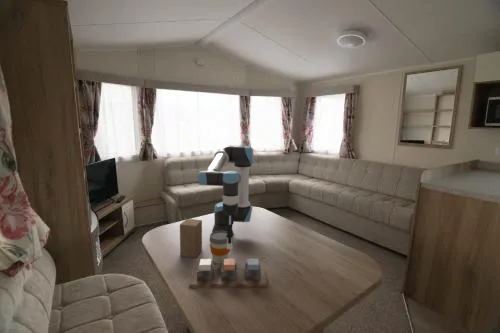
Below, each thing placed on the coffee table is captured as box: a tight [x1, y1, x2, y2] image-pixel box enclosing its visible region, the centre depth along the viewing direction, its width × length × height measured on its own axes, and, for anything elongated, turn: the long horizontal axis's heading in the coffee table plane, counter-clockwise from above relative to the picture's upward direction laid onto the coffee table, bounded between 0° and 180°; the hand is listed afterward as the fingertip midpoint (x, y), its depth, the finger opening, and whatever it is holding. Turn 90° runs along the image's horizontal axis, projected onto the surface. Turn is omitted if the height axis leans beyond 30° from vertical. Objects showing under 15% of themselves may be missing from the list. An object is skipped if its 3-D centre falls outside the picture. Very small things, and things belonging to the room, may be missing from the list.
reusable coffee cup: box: [209, 231, 231, 264], centre depth 146 cm, size 13×13×15 cm
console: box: [189, 262, 268, 288], centre depth 128 cm, size 38×13×6 cm, turn 94°
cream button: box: [198, 258, 213, 271], centre depth 127 cm, size 6×6×5 cm
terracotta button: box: [224, 258, 236, 271], centre depth 128 cm, size 6×6×5 cm
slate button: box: [246, 258, 260, 270], centre depth 128 cm, size 6×6×5 cm
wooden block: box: [179, 218, 203, 259], centre depth 151 cm, size 10×10×20 cm
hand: (229, 248), depth 126 cm, fingers closed
